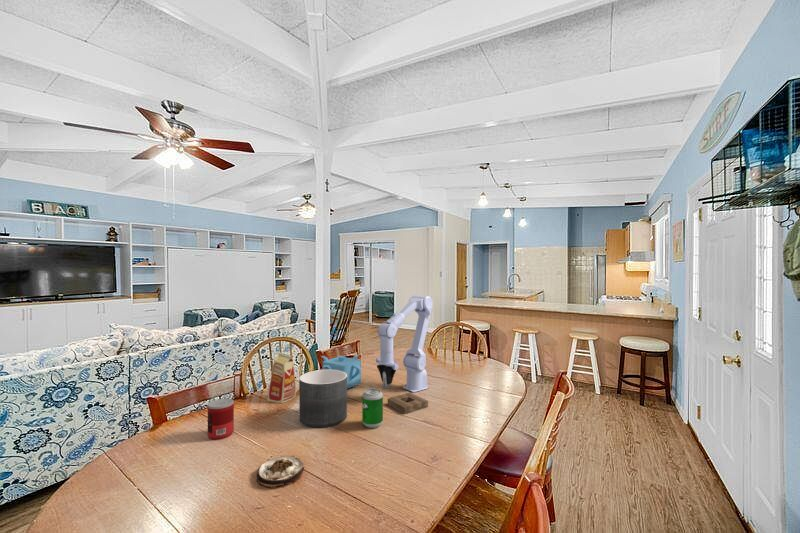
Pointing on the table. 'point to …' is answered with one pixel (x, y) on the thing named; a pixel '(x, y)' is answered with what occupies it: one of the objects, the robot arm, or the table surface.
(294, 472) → the sushi roll
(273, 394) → the milk carton
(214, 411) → the canned food
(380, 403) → the soda can
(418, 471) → the table surface
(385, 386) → the long pin
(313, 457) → the table surface
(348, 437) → the table surface
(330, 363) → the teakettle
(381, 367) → the robot arm
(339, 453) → the table surface
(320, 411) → the planter
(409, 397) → the socket block
